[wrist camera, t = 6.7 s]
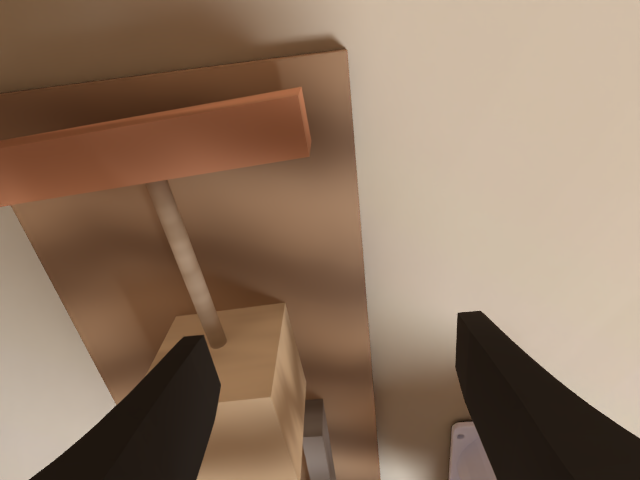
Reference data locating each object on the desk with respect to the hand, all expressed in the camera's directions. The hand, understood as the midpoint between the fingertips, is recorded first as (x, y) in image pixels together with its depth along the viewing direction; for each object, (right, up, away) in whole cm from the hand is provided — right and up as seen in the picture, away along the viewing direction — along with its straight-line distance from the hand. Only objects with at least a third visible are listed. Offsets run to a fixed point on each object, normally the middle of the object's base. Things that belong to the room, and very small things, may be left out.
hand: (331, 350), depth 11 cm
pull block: (-6, +1, +9) cm, 10 cm away
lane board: (-5, -4, +13) cm, 14 cm away
